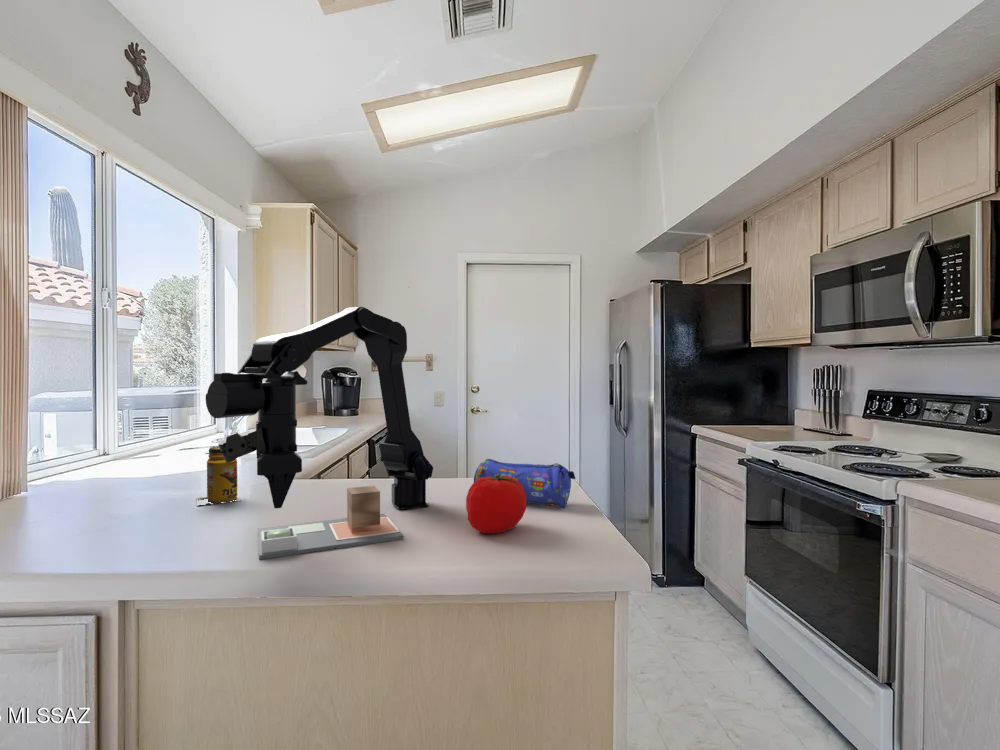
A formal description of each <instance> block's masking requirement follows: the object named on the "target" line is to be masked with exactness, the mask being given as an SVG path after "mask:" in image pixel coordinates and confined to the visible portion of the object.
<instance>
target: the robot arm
mask: <svg viewBox="0 0 1000 750" xmlns="http://www.w3.org/2000/svg"><path fill="white" fill-rule="evenodd" d="M406 330H407V329H406V327H405V326H404V325H402V324H401V323H400V322H398V321H393V320H392V319H391V318H388V317H386V316H383V315H380V314H377V313H375V312H374V311H373V312H372V311H371V310H370V309H368V308H367V307H365V306H351V307H346V308H344V309H343V310H342V311H340V312H337V313H335V314H333V315H331V316H328V317H326V318H324V319H321V320H319V321H318V322H314V323H313V324H311V325H308V326H306V327H304V328H301V329H299V330H297V331H291V332H285V333H279V334H278V333H277V334H274V335H267V336H264V337H260V338H259V339H257V340H255V342H254V343H253V344H252V345H253V346H252V348H251V353H250V354H249V356H248V358H247V359H246V361H244V363H243V364H242V366H241V368H240V369H239V370H238V372H237V373H231V372H214V374H213V381H212V382H211V383H210V384H209V386H208V389H207V393H205V404H206V409H207V411H208V413H209V416H211V417H213V418H214V419H223V418H224V419H225V418H236V417H237V418H238V417H250V416H255V415H257V418H258V419H257V420H256V422H255V426H256V427H255V428H252V429H250V430H246V431H243V432H241V433H238V432H237V431H236V432H234V433H233V434H230V435H229V434H228V435H226V438H225V439H223V440H220V441H219V443H218V445H217V446H219V448H220V450H221V453H222V455H223V457H224V459H225V462H226V463H228V462H231V461H234V460H235V459H238V458H241V457H243V456H245V455H248V454H251V453H252V452H256V459H257V460H256V474H257V476H262V477H263V476H264V477H265V478H266V479H267V480H268V485H269V490H270V494H271V500H272V504H273V508H274V509H281V508H283V505H284V502H285V500H286V498H287V495H288V493H289V490H290V488H291V486H292V484H293V481H294V479H295V477H296V475H297V473H302V472H303V459H302V457H301V455H299V454H298V453H297V452H298V444H297V427H298V419H297V413H296V412H297V401H296V399H297V397H296V396H297V392H296V391H297V388H296V387H297V386H305V385H307V384H308V380H306V378H304V377H303V376H301V374H300V373H299V371H298V368H300V367H301V366H302V365H304V364H305V363H306V362H308V361H309V360H310V358H311V357H312V355H313V353H315V352H317V351H318V350H319V349H321V348H323V347H325V346H328V345H329V344H331V343H333V342H335V341H338V340H339V339H341V338H343V337H345V336H348V335H350V334H353V335H354V337H355V338H357V339H358V340H361V341H362V342H364V345H365V349H366V351H367V354H368V356H369V358H371V360H372V361H373V364H375V366H376V367H377V373H378V378H379V385H380V392H381V398H382V405H383V410H384V419H385V424H386V431H387V434H386V436H385V438H384V441H383V442H380V443H379V446H378V448H379V451H380V462H382V463H383V465H384V467H385V469H386V473H387V475H388V477H393V483H391V504H393V505H394V507H395V508H396V509H397V510H399V511H400V510H401V511H402V510H409V509H418V508H426V507H429V503H428V502H426V501H427V498H426V497H427V495H426V494H427V493H426V491H427V486H426V485H427V483H426V482H427V480H429V478H432V476H433V473H434V467H433V465H432V464H431V463H430V462H429V460H428V459H427V458H426V457H425V455H424V449H423V447H422V443H421V441H420V439H419V438H418V437H417V435H416V434H415V432H414V431H413V430H412V427H411V418H410V412H409V411H410V410H409V406H408V398H407V391H406V384H405V379H404V378H405V377H404V371H403V362H404V360H405V356H406V353H407V351H408V338H407V337H408V335H407V331H406ZM285 373H286V374H285ZM264 379H266V380H265V381H263V380H264ZM257 413H258V414H257Z"/></svg>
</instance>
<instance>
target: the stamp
mask: <svg viewBox="0 0 1000 750" xmlns="http://www.w3.org/2000/svg"><path fill="white" fill-rule="evenodd" d="M380 514H381V491H380V489H379V488H377V487H376V486H375V485H367V486H366V485H365V486H356V487H348V488H346V515H347V516H346V518H347V526H348V528H349V530H350V531H351V533H352V534H353V533H360V532H368V531H376V530H380Z"/></svg>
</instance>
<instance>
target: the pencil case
mask: <svg viewBox="0 0 1000 750" xmlns="http://www.w3.org/2000/svg"><path fill="white" fill-rule="evenodd" d="M484 475H486V476H484ZM496 475H500V476H510V477H512V478H514V479H516V480H517V481H519V482H520V484H521V485H522V487H523V488H524V491H525V496H526V501H527V503H526V504H537V505H544V506H555V507H559V508H562V509H565V508H566V506H567V504H568V501H569V497H570V493H571V487H572V480H576V476H575V472H574V471H571V470H568V469H567V467H565V466H564V465H562V464H559V463H558V462H554V463H549V464H539V463H537V464H534V463H533V464H531V463H513V462H512V463H511V462H510V463H509V462H502V461H497V460H495V459H493V458H486V459H485V460H484V461H483V462H480V463H479V465H478V466H477V468H476V470H475V472H474V476H473V483H474V482H475V481H477V480H478V479H479V478H482V477H487V476H491V477H496ZM500 476H499V477H500Z"/></svg>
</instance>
